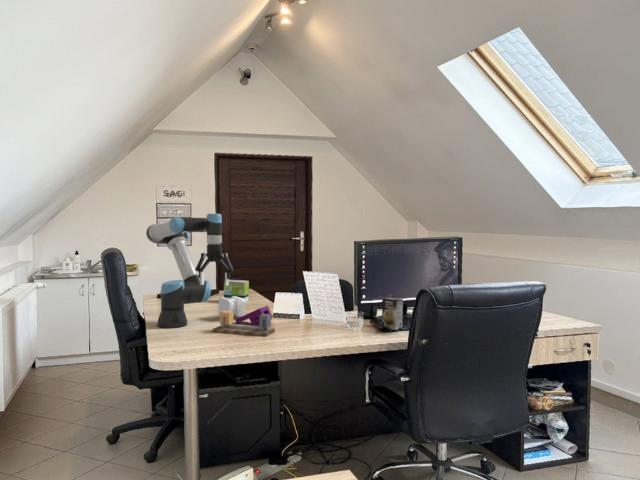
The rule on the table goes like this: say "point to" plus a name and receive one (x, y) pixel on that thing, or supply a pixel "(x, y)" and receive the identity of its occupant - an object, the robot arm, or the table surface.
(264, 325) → the rail and fixed leg
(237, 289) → the tea box
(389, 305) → the coffee box
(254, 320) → the mounting bracket
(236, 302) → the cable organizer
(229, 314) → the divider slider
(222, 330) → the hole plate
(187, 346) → the table surface
